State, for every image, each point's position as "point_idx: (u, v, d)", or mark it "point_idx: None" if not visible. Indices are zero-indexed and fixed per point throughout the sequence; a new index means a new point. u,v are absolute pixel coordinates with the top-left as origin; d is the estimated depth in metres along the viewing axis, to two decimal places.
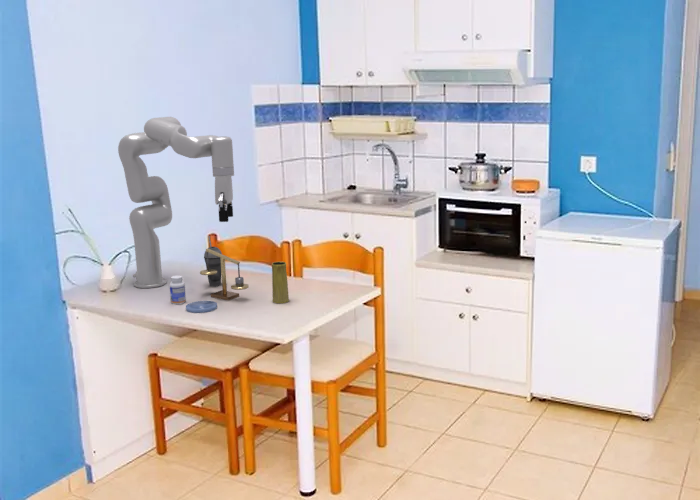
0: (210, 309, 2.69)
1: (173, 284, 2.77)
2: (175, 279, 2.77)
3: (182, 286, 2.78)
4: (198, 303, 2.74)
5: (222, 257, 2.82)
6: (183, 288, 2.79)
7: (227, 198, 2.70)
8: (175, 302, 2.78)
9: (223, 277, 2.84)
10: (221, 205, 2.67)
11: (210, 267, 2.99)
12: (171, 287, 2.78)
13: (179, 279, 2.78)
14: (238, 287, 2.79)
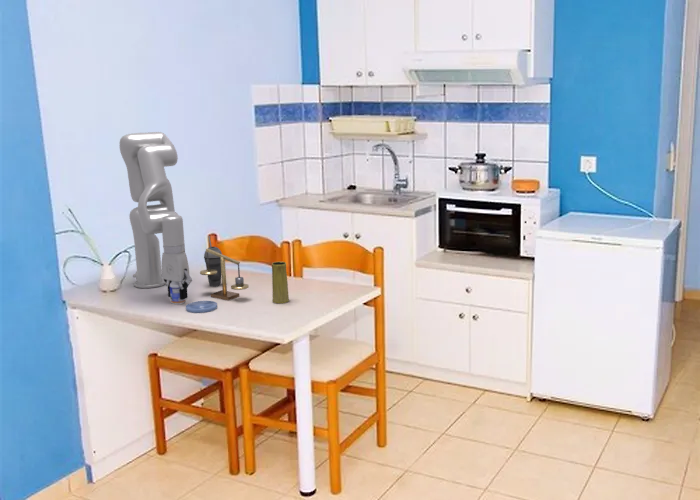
0: (210, 309, 2.69)
1: (173, 284, 2.77)
2: None
3: None
4: (198, 303, 2.74)
5: (222, 257, 2.82)
6: None
7: None
8: (175, 302, 2.78)
9: (223, 277, 2.84)
10: (188, 283, 2.76)
11: (210, 267, 2.99)
12: (171, 287, 2.78)
13: None
14: (238, 287, 2.79)
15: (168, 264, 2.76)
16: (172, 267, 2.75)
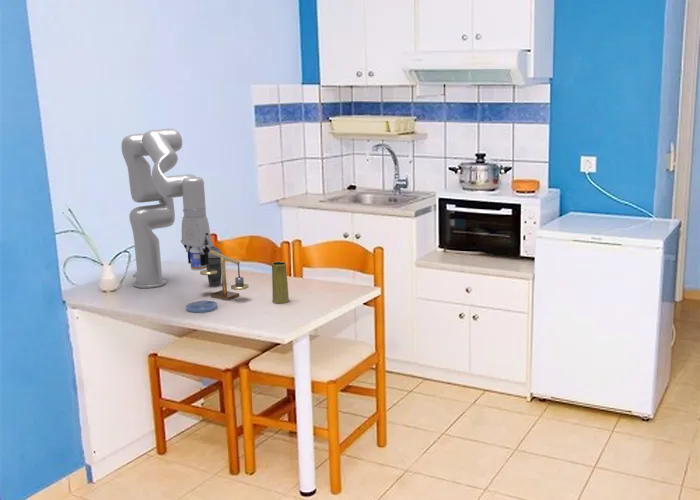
0: (210, 309, 2.69)
1: (193, 249, 2.66)
2: None
3: None
4: (198, 303, 2.74)
5: (222, 257, 2.82)
6: None
7: None
8: (195, 268, 2.67)
9: (223, 277, 2.84)
10: (209, 249, 2.65)
11: (210, 267, 2.99)
12: (191, 252, 2.66)
13: None
14: (238, 287, 2.79)
15: (188, 228, 2.65)
16: (193, 232, 2.64)
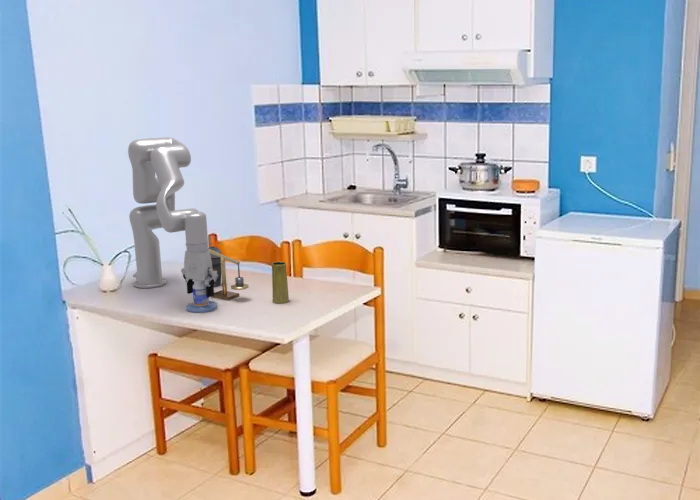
0: (210, 309, 2.69)
1: (196, 286, 2.69)
2: (198, 281, 2.69)
3: (205, 288, 2.70)
4: None
5: (222, 257, 2.82)
6: None
7: None
8: (198, 304, 2.70)
9: (223, 277, 2.84)
10: (215, 280, 2.66)
11: None
12: (194, 289, 2.69)
13: (202, 281, 2.69)
14: (238, 287, 2.79)
15: (191, 263, 2.67)
16: (195, 266, 2.66)
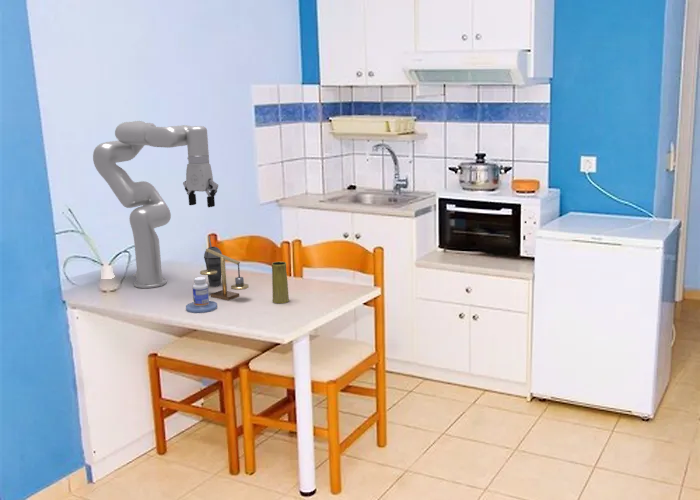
0: (210, 309, 2.69)
1: (196, 286, 2.69)
2: (198, 281, 2.69)
3: (205, 288, 2.70)
4: None
5: (222, 257, 2.82)
6: (206, 290, 2.71)
7: None
8: (198, 304, 2.70)
9: (223, 277, 2.84)
10: (216, 190, 2.81)
11: (210, 267, 2.99)
12: (194, 289, 2.69)
13: (202, 281, 2.69)
14: (238, 287, 2.79)
15: (193, 174, 2.82)
16: (197, 177, 2.82)
